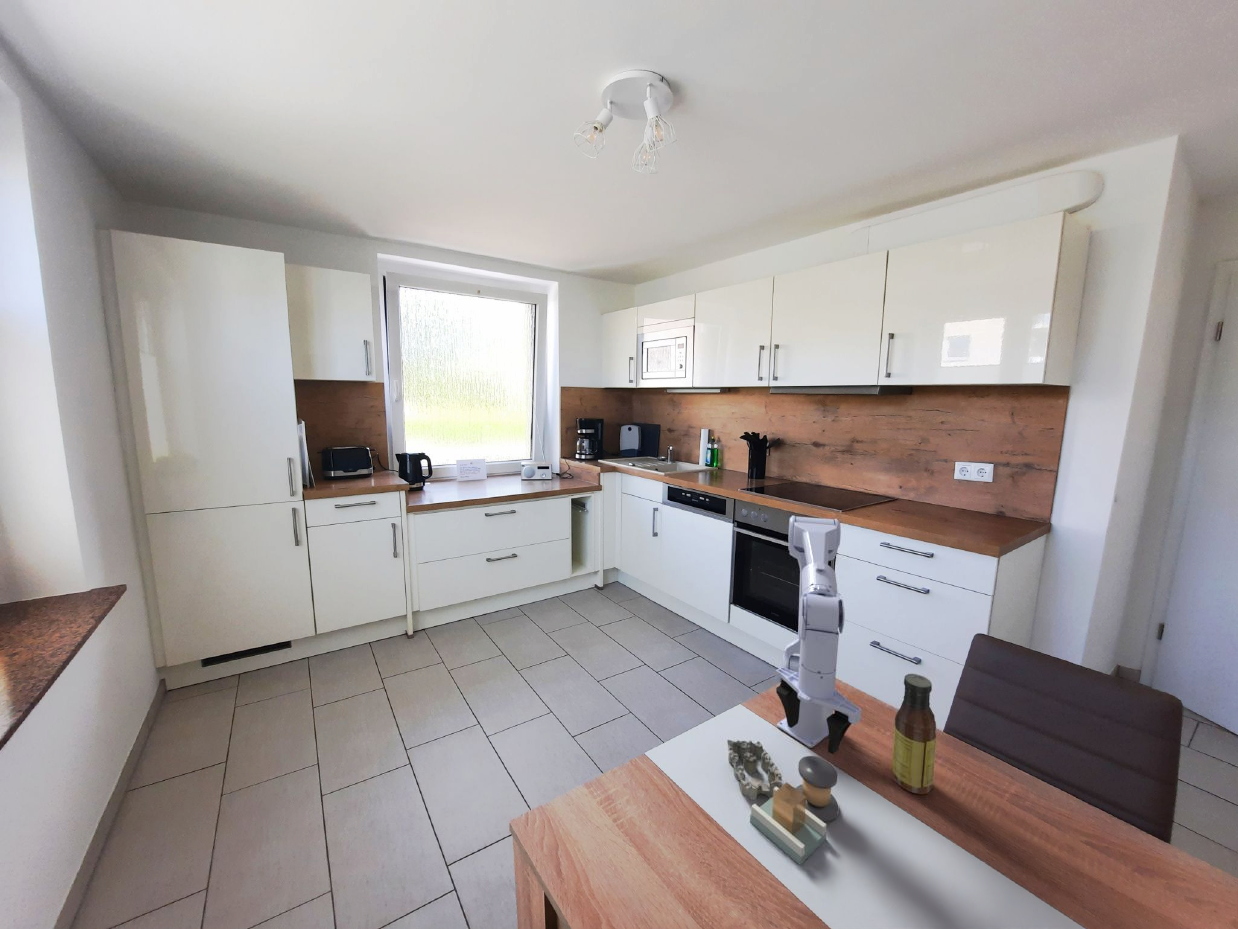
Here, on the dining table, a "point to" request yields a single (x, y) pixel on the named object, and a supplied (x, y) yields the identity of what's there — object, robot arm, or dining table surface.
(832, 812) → the spool
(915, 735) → the sauce bottle
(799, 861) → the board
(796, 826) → the wooden block
